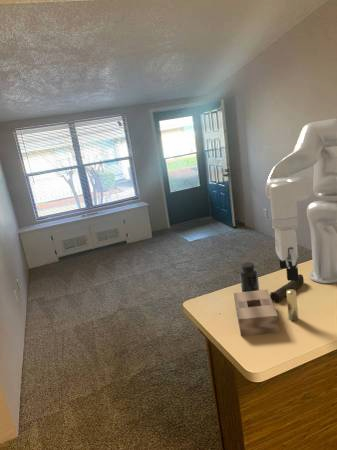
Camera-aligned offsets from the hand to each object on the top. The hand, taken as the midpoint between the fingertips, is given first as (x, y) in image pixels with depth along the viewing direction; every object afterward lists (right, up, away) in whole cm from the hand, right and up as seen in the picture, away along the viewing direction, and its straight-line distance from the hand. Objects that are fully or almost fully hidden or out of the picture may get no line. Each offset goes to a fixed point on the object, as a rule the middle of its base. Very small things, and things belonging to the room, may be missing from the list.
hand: (288, 273), depth 105 cm
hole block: (-8, -17, +8) cm, 20 cm away
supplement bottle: (-5, -12, +27) cm, 30 cm away
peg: (+3, -16, +4) cm, 17 cm away
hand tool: (+8, -11, +22) cm, 26 cm away
